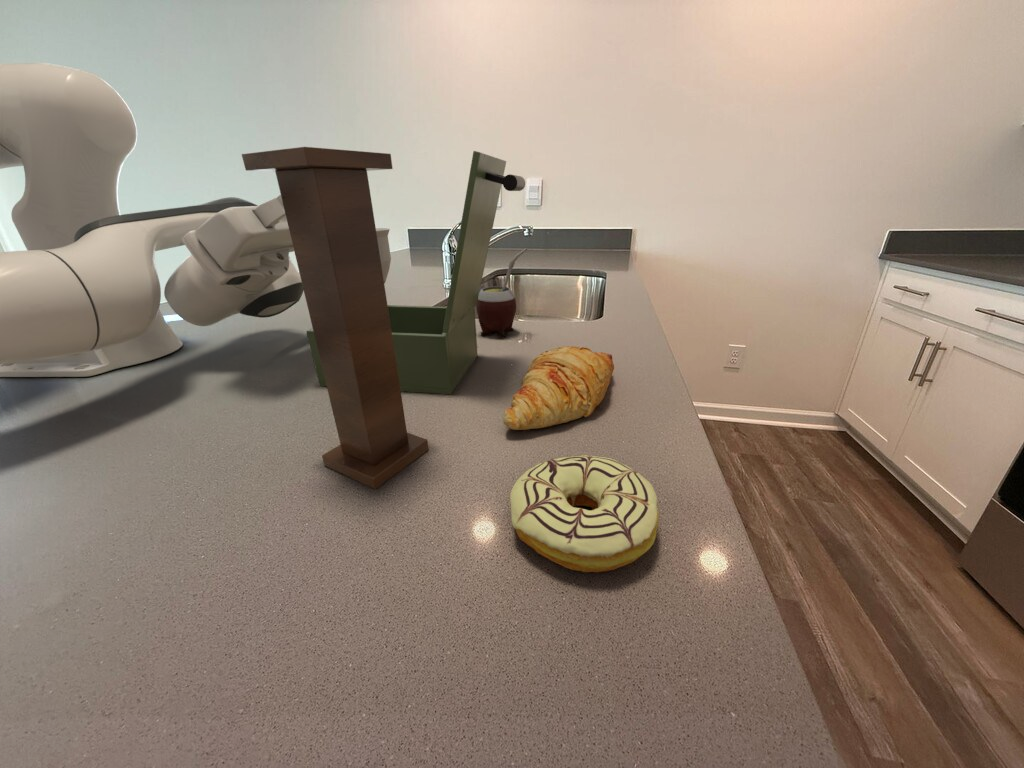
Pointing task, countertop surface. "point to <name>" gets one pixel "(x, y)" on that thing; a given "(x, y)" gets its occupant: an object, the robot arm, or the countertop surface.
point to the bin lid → (476, 233)
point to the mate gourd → (497, 307)
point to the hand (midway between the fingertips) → (320, 195)
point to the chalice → (384, 250)
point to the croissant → (560, 388)
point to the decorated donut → (585, 512)
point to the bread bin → (424, 348)
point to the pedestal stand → (346, 303)
